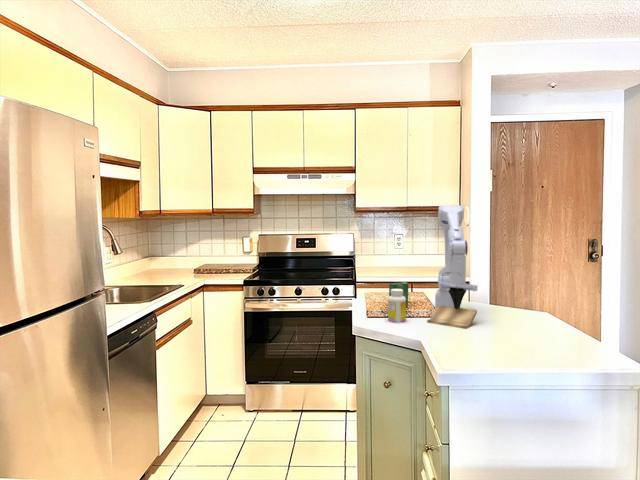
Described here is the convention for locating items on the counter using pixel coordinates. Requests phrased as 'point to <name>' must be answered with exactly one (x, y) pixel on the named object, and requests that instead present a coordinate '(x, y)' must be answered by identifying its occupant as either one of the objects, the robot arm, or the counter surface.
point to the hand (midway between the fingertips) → (457, 308)
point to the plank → (454, 315)
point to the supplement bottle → (397, 306)
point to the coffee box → (400, 286)
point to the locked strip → (448, 323)
